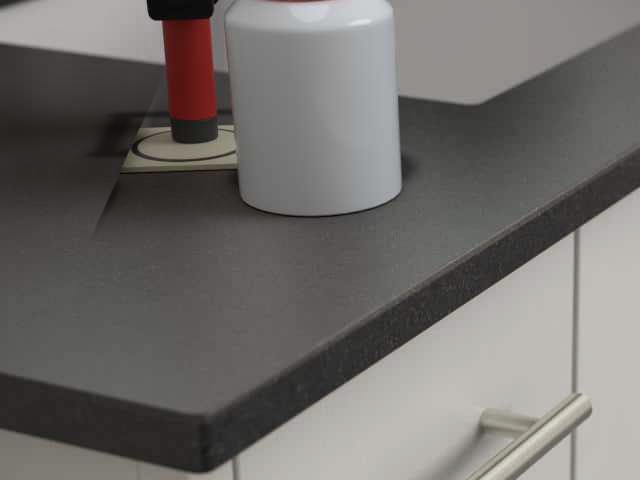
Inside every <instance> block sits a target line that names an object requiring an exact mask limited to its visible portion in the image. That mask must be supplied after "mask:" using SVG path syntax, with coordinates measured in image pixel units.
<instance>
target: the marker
mask: <svg viewBox="0 0 640 480" xmlns="http://www.w3.org/2000/svg"><path fill="white" fill-rule="evenodd" d="M211 25H212V24H211V17H210V18H209V19H195V20H168V21H161V28H162V29H161V30H162V36H163V37H162V38H163V41H162V42H163V50H164V62H165V63H164V64H165V74H166V86H167V99H168V110H169V120H170V121H169V122H170V127H171V135H172V139H173V140H175V141H178V142H182V143H204V142H209V141H212V140H215V139H216V138H217V137H218V126H219V124H218V123H219V122H218V114H217V113H218V111H217V97H216V96H217V95H216V81H215V68H214V53H213V39H212V26H211Z"/></svg>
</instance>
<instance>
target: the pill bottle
mask: <svg viewBox="0 0 640 480" xmlns="http://www.w3.org/2000/svg"><path fill="white" fill-rule="evenodd" d="M223 29H224V38H225V39H224V40H225V49H226V60H227V70H228V81H229V92H230V93H229V94H230V103H231V113H232V114H231V115H232V125H234V136H235V147H236V157H237V168H238V169H237V178H238V187H239V196H240V197H241V199H242V201H243V202H245V204H247V205H248V206H250V207H253V208H254V209H257V210H260V211H264V212H267V213H271V214H277V215H282V216H283V215H284V216H296V217H323V216H335V215H336V216H337V215H345V214H351V213H356V212H357V213H358V212H361V211H365V210H368V209H373V208H376V207H379V206H382V205H384V204H386V203H388V202H390V201H391V200H393V199H394V198H396V197H397V196H398V195H399V194H400V193H401V191H402V190H403V189H402V188H403V178H402V176H403V175H402V174H403V173H402V154H401V153H402V152H401V135H400V134H401V133H400V112H399V111H400V109H399V108H400V107H399V92H398V91H399V90H398V89H399V88H398V87H399V86H398V69H397V68H398V67H397V45H396V21H395V11H394V8H393V5H392V4H391V3H390V2H389V1H388V0H234V1H233V2H232V3H231V4H230V5H229V6H228V8H226V10H225V12H224V16H223Z"/></svg>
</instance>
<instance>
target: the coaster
mask: <svg viewBox="0 0 640 480" xmlns="http://www.w3.org/2000/svg"><path fill="white" fill-rule="evenodd" d="M212 170H213V171H214V170H215V171H217V170H238V168H237V157H236V147H235V136H234V125H233V124H227V125H225V124H221V125H218V137H217V138H216V139H215V140H212V141H209V142H204V143H182V142H178V141H175V140H173V139H172V135H171V126H166V127H163V126H162V127H139V128H138V130H137V133H136V135H135V138H134V140H133V142H132V144H131V147H130V148H129V151H128V153H127V155H126V158H125V159H124V162H123V165H122V166H121V168H120V171H119V174H125V173H128V174H129V173H130V174H131V173H155V172H157V173H158V172H180V171H181V172H185V171H186V172H187V171H212Z"/></svg>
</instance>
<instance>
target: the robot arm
mask: <svg viewBox="0 0 640 480" xmlns="http://www.w3.org/2000/svg"><path fill="white" fill-rule="evenodd" d="M145 1H146V10H147V15H148V17H149V18H150V19H151V20H153V21H154V22H162V21H168V20H195V19H209V18H210V19H211V18H212V16H213V15H214V13H215V5H217V4H218V2H219V0H145Z"/></svg>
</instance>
